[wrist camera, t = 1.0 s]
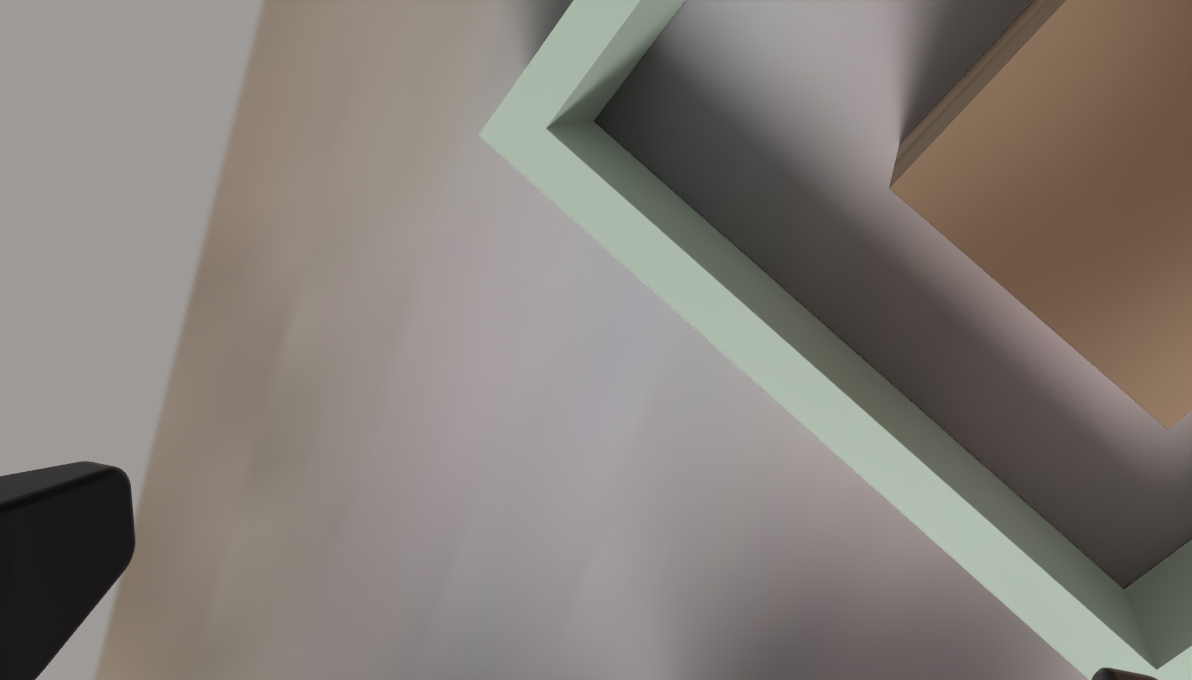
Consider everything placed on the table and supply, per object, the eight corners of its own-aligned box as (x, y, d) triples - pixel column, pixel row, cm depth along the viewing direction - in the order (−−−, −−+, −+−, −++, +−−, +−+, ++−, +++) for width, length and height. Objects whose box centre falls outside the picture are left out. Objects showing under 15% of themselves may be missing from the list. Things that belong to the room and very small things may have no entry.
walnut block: (1268, 115, 18) (1522, 144, 10) (1071, 293, 19) (1167, 429, 12) (1075, -46, 18) (1188, -130, 10) (898, 145, 20) (889, 188, 12)
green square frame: (1842, 135, 15) (2046, 149, 13) (1122, 649, 21) (1154, 738, 18) (1013, -528, 16) (1032, -651, 14) (533, 127, 22) (478, 135, 19)
